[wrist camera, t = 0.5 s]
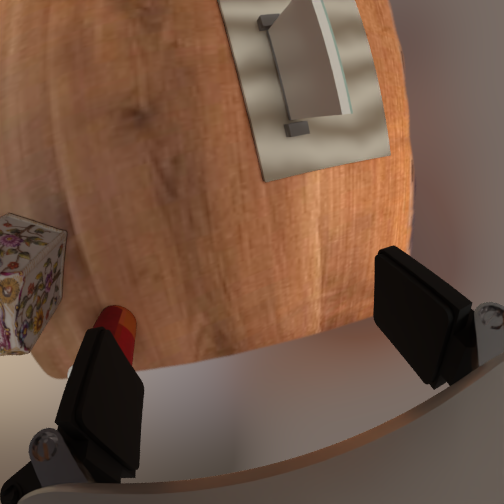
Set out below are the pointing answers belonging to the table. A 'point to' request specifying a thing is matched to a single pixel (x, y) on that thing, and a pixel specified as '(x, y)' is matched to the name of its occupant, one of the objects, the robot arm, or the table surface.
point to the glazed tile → (308, 61)
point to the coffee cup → (119, 328)
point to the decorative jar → (28, 280)
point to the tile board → (273, 104)
